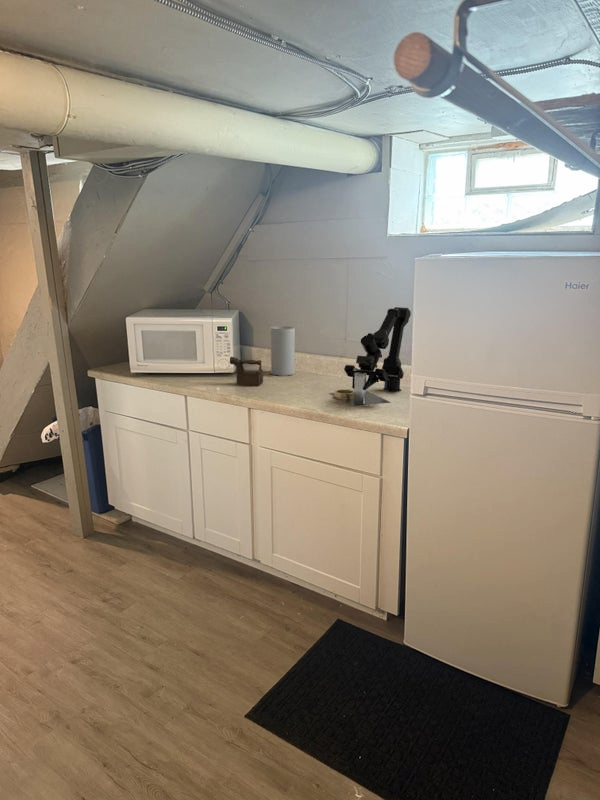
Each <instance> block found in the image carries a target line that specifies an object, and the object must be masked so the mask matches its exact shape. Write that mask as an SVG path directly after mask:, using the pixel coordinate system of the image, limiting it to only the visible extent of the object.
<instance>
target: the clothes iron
mask: <svg viewBox="0 0 600 800" xmlns="http://www.w3.org/2000/svg"><path fill="white" fill-rule="evenodd" d="M262 362H263V361H262V359H261V360H259V359H258V360H256V359H245V358H242V359H239V358H237V357H234V356H230V357H229V364H230V365H234V366H235V368H236V384H237V385H241V386H247V387H248V386H249V387H260V386H261V385H262V384H263V383H264V369H263V368H262ZM244 364H245V365H246V364H247V365H258V366H259V367H258V370H252V369H251V370H248V369H245V367H244Z"/></svg>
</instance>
